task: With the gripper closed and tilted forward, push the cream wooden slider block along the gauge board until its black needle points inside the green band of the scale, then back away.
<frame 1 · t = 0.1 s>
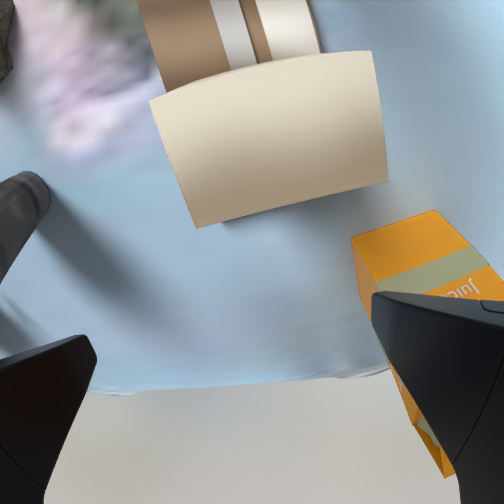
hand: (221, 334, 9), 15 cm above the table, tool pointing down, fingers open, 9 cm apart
orange juice: (396, 254, 27), on the table
gauge board: (245, 73, 18), on the table
slider block: (283, 104, 12), point 8 cm above the table, slide at 0.0 cm
beverage cup: (30, 194, 21), on the table
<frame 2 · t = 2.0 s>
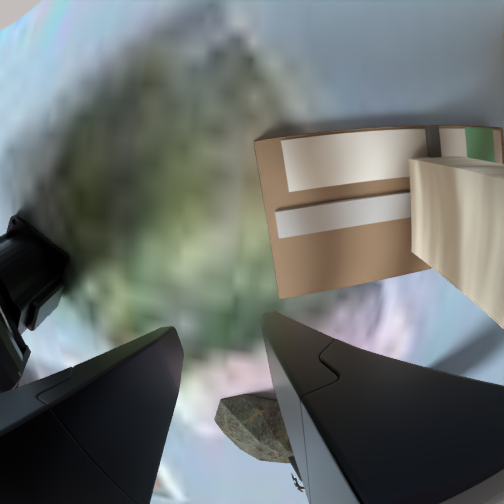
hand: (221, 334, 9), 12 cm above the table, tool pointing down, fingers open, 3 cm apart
gauge board: (401, 198, 20), on the table
sword in stone: (266, 417, 27), on the table
slider block: (489, 207, 12), point 8 cm above the table, slide at 0.0 cm
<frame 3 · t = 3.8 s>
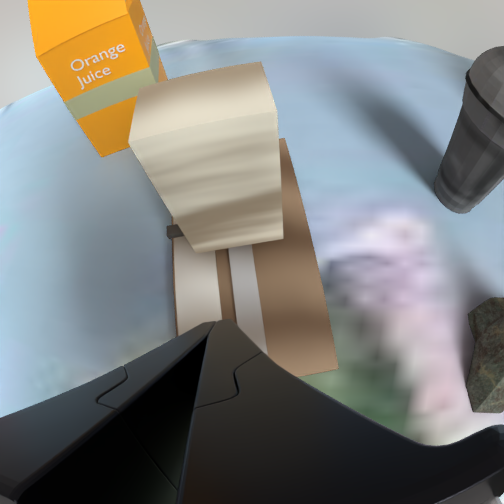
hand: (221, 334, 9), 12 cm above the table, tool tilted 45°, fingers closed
orange juice: (138, 124, 32), on the table
gauge board: (242, 253, 23), on the table
sword in stone: (498, 354, 18), on the table
slider block: (204, 176, 17), point 8 cm above the table, slide at 0.0 cm
beverage cup: (453, 193, 24), on the table
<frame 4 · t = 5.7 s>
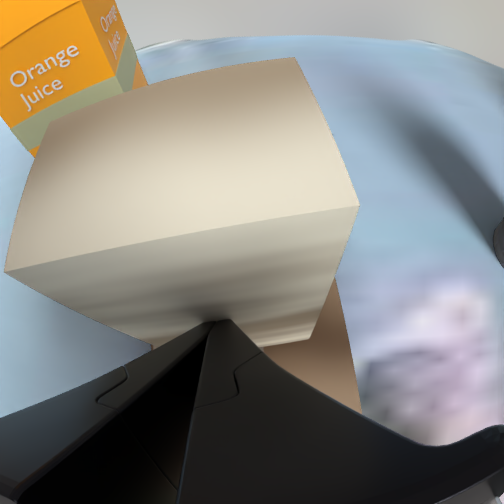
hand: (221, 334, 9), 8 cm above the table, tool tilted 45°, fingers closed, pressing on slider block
orange juice: (113, 149, 25), on the table
gauge board: (250, 352, 16), on the table
slider block: (185, 270, 10), point 8 cm above the table, slide at 0.4 cm, touching gripper
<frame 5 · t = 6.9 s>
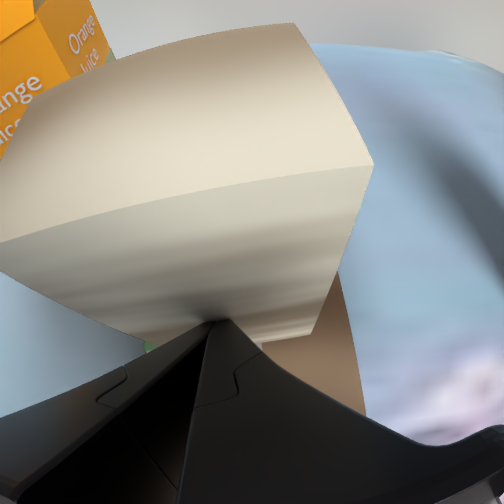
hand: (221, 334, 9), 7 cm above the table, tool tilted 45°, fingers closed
orange juice: (100, 183, 22), on the table
gauge board: (260, 439, 13), on the table
slider block: (176, 258, 9), point 8 cm above the table, slide at 5.2 cm
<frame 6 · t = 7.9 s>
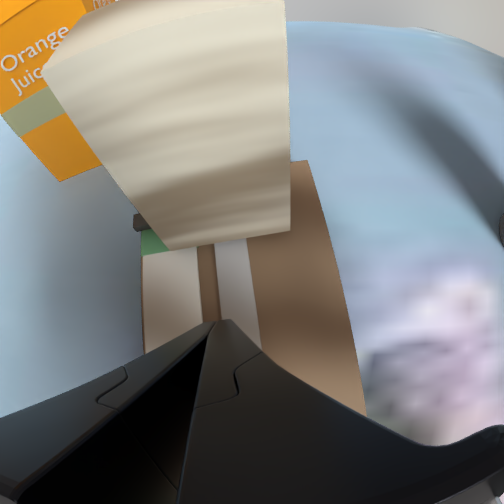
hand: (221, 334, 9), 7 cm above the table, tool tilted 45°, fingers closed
orange juice: (107, 135, 23), on the table
gauge board: (247, 343, 15), on the table
slider block: (174, 138, 11), point 8 cm above the table, slide at 5.2 cm
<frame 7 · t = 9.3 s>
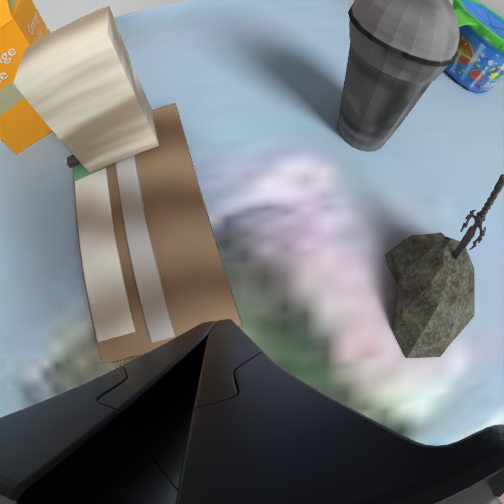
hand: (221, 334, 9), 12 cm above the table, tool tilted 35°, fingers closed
orange juice: (46, 115, 27), on the table
gauge board: (142, 222, 23), on the table
sword in stone: (428, 294, 21), on the table
slider block: (81, 103, 17), point 8 cm above the table, slide at 5.2 cm
beverage cup: (361, 131, 25), on the table
snack cup: (463, 75, 28), on the table
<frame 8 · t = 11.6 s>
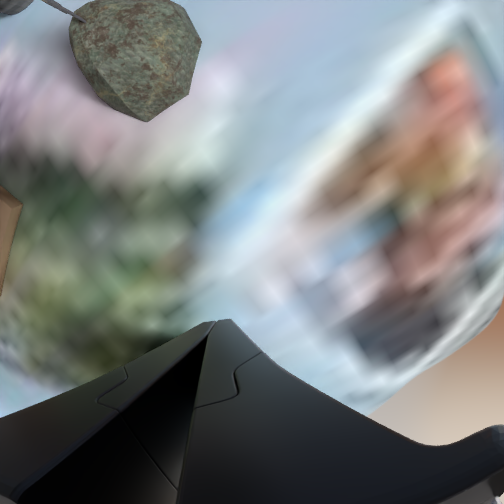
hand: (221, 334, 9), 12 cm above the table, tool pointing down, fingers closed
sword in stone: (141, 50, 16), on the table
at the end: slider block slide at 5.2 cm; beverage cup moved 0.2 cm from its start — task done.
